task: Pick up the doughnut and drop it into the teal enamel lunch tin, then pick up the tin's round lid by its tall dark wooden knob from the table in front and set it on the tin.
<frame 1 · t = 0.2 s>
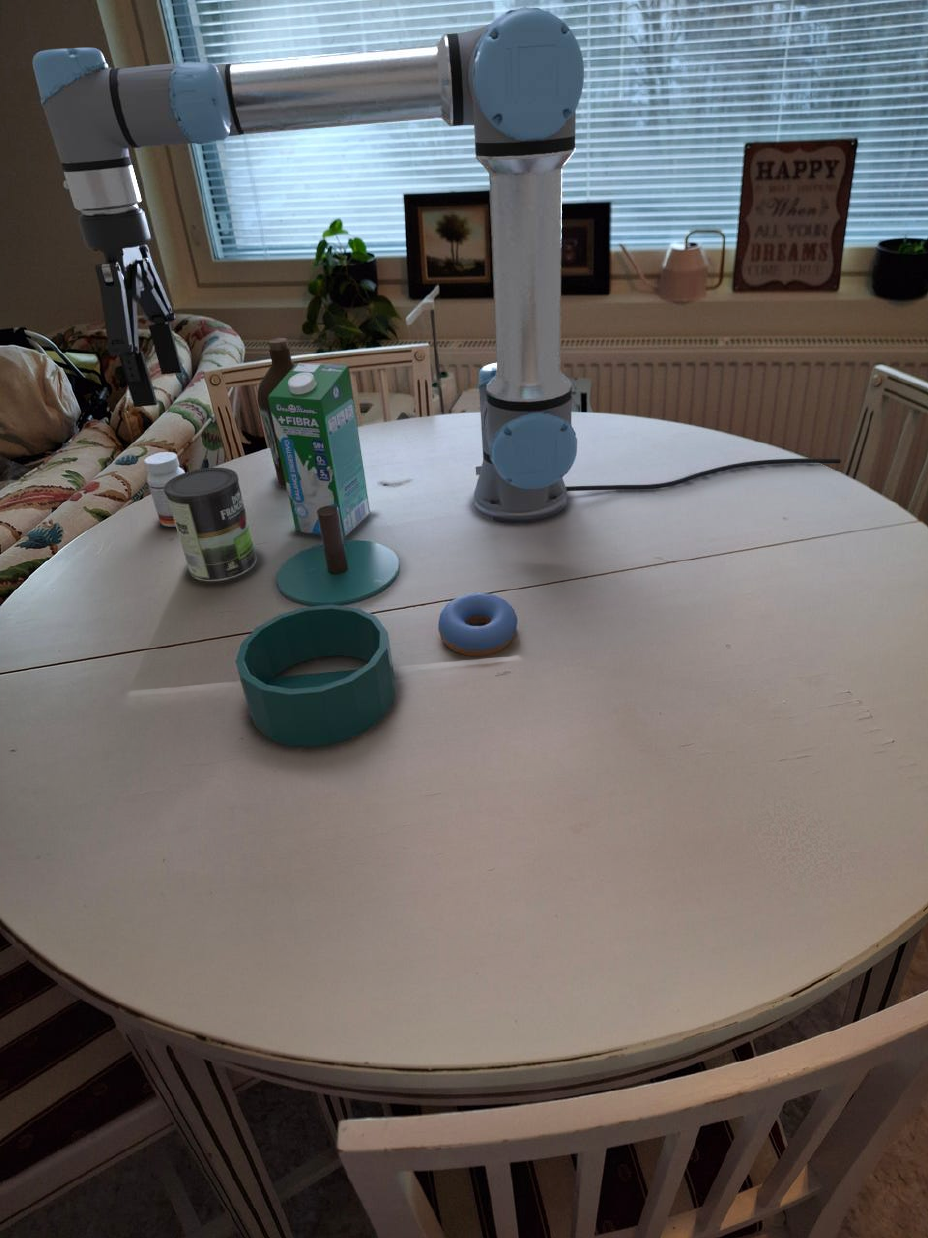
hand: (160, 388, 106), 28 cm above the table, tool pointing down, fingers open, 13 cm apart
doughnut: (478, 639, 102), on the table
pill bottle: (179, 520, 137), on the table
coffee can: (224, 567, 122), on the table
olive oil: (303, 479, 148), on the table
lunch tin: (323, 697, 94), on the table
lid: (338, 572, 117), point 1 cm above the table
milk carton: (334, 525, 131), on the table
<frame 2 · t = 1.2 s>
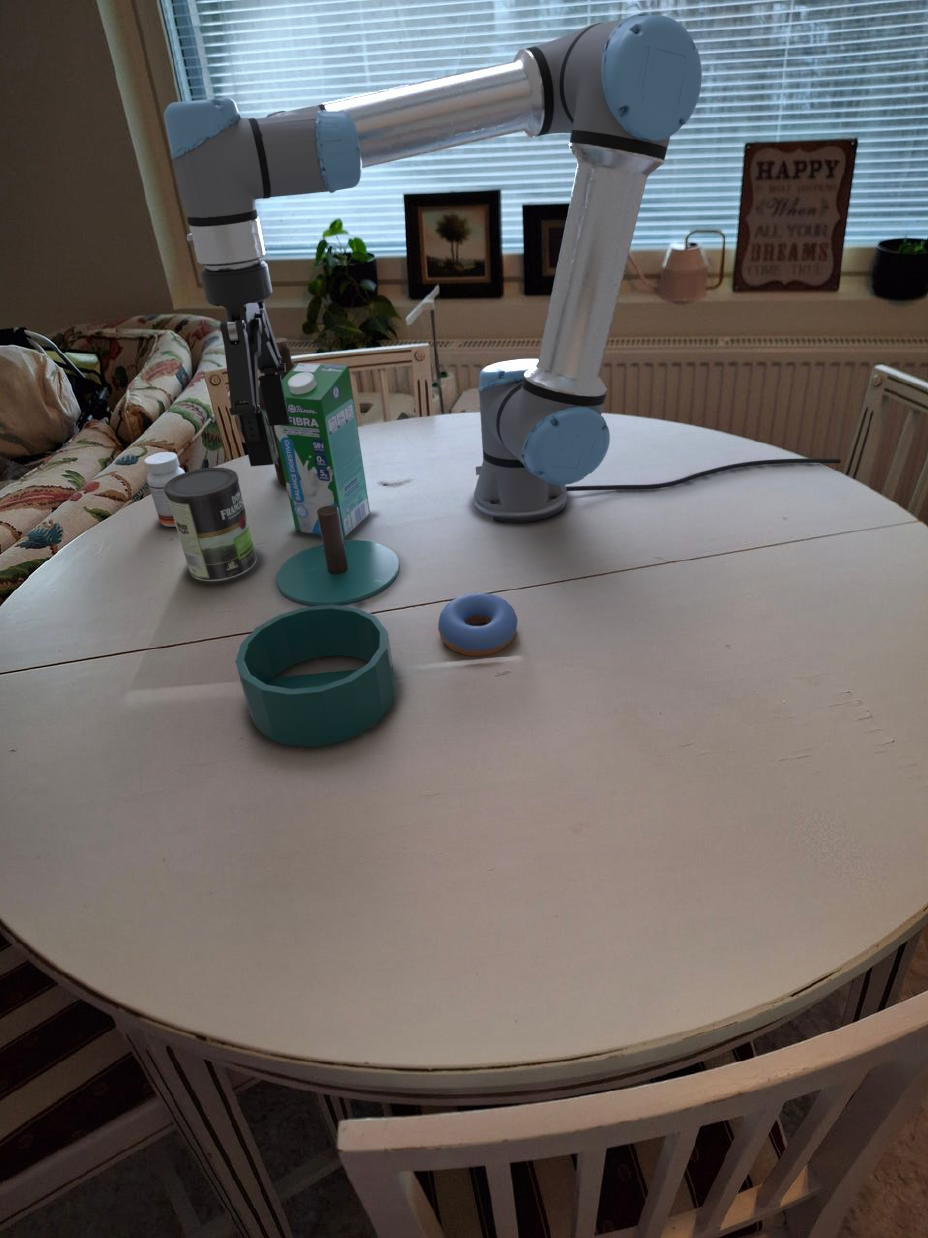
hand: (271, 443, 102), 22 cm above the table, tool pointing down, fingers open, 13 cm apart
nothing on the table moved.
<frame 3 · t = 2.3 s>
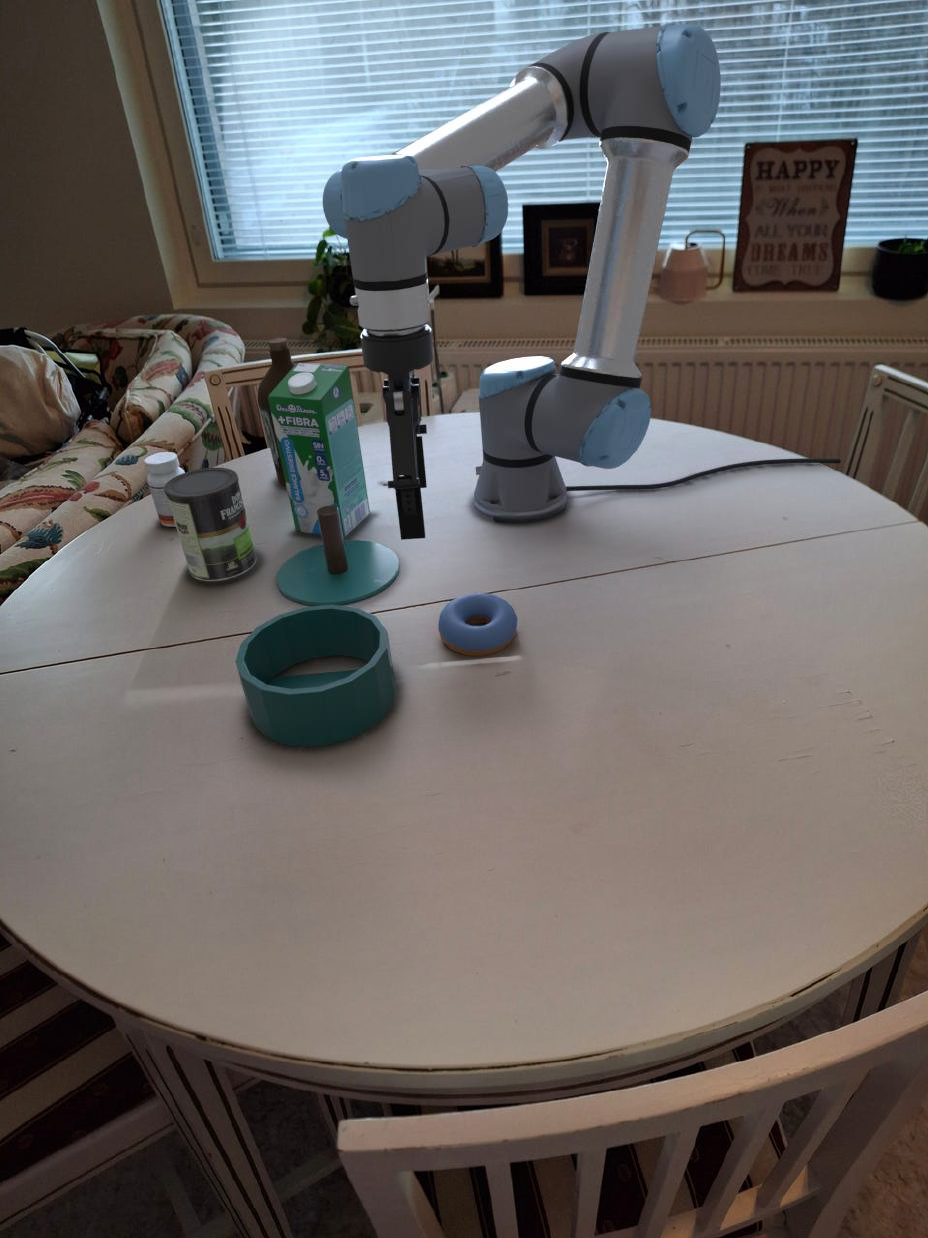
hand: (414, 511, 95), 17 cm above the table, tool pointing down, fingers open, 13 cm apart
nothing on the table moved.
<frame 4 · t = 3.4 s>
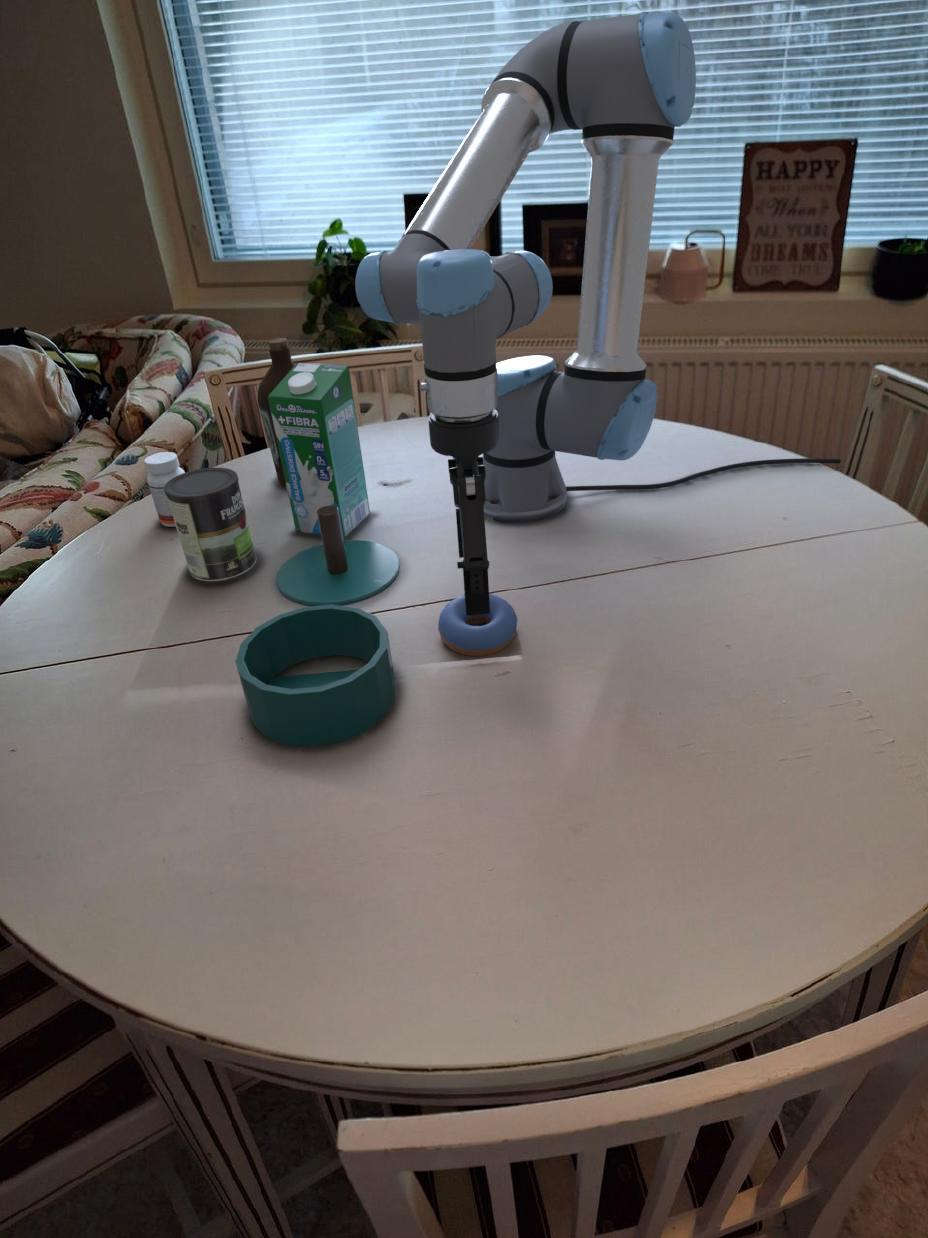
hand: (473, 582, 97), 8 cm above the table, tool pointing down, fingers open, 13 cm apart
nothing on the table moved.
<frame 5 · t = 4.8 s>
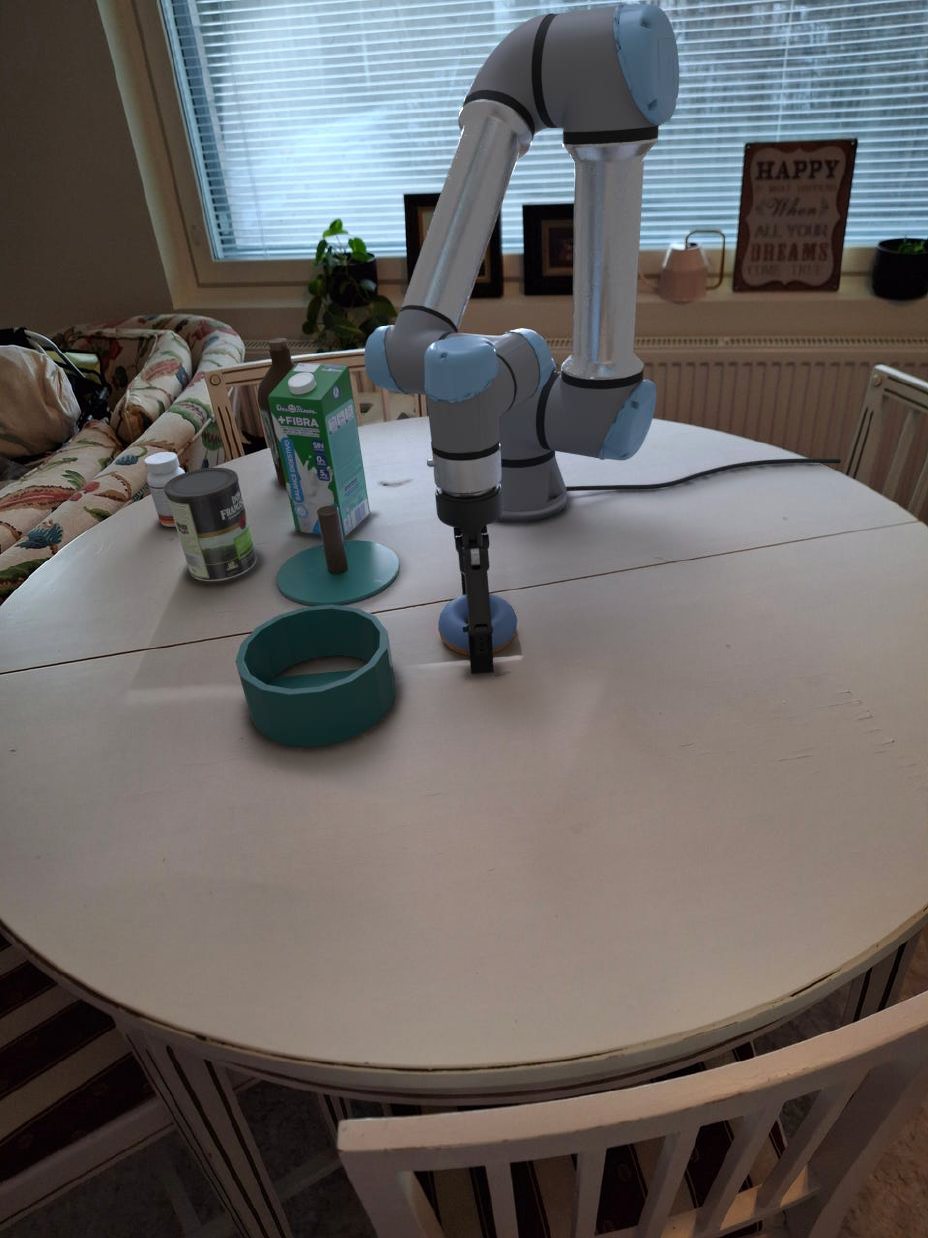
hand: (477, 639, 102), 0 cm above the table, tool pointing down, fingers open, 13 cm apart
nothing on the table moved.
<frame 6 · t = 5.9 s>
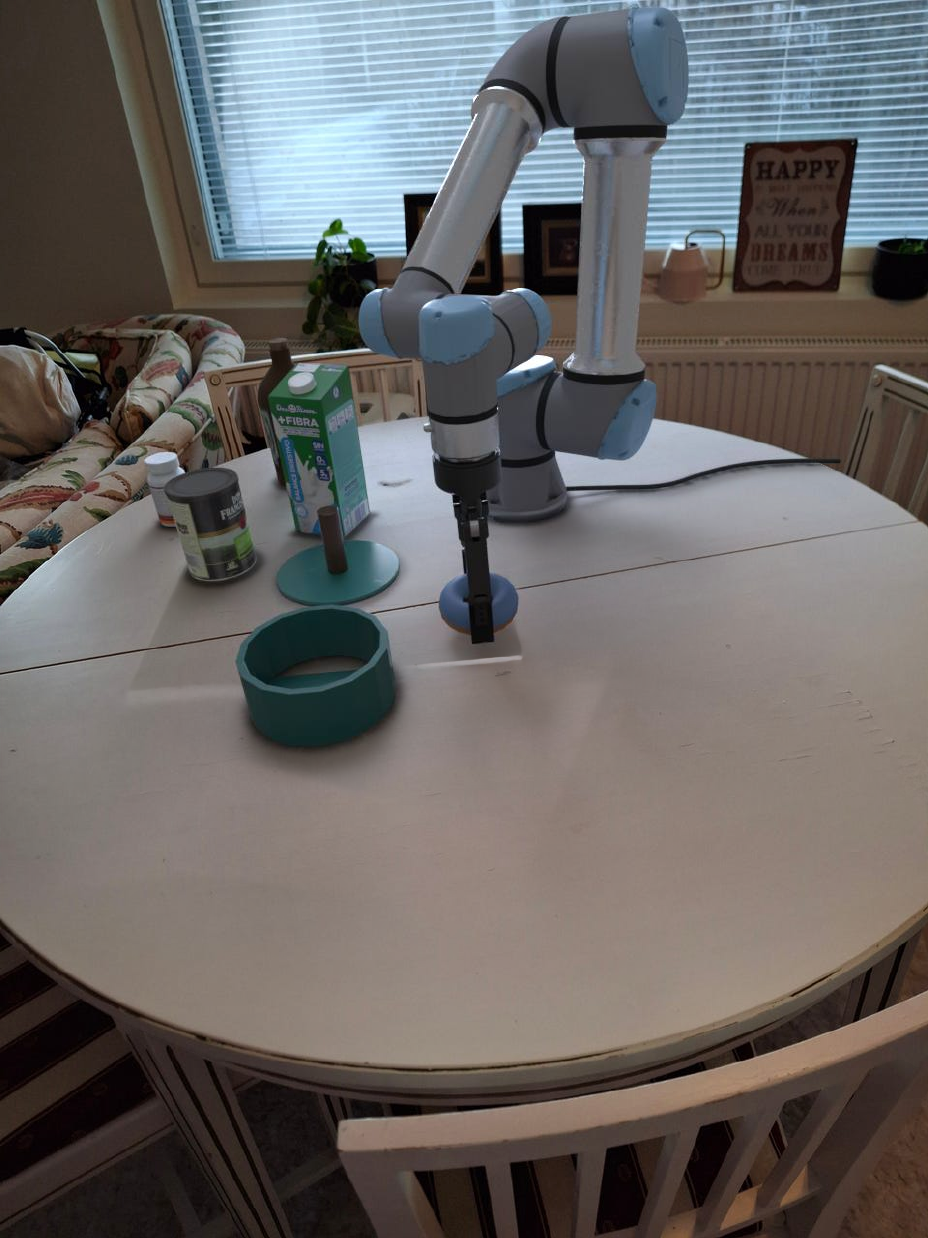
hand: (479, 616, 100), 3 cm above the table, tool pointing down, fingers closed on doughnut, 10 cm apart
doughnut: (479, 619, 101), point 3 cm above the table, touching gripper
everything else where it was.
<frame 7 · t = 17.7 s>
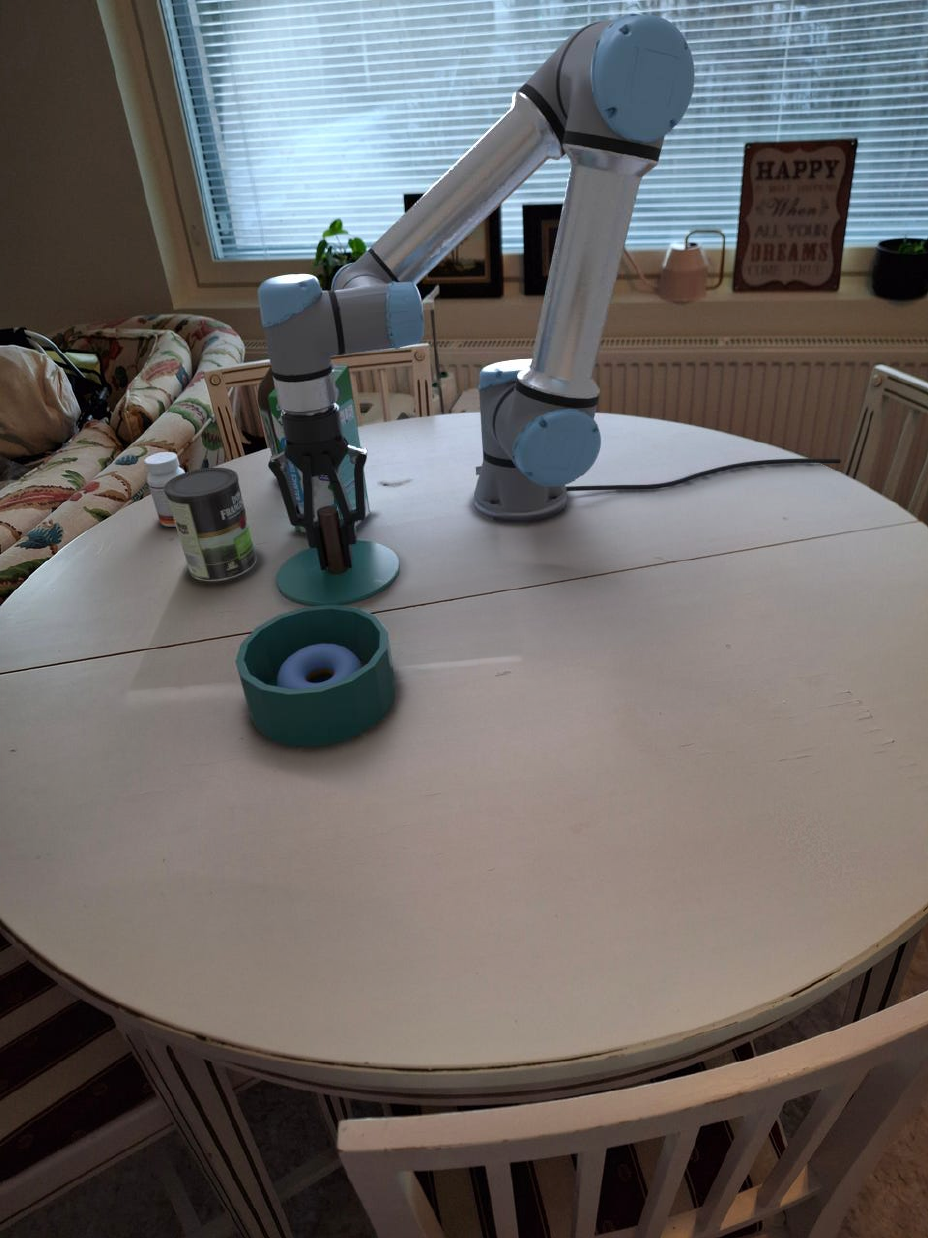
hand: (337, 563, 116), 2 cm above the table, tool pointing down, fingers closed on lid, 3 cm apart
doughnut: (324, 695, 94), resting on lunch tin
lid: (338, 572, 117), point 1 cm above the table, touching gripper
everything else where it was.
when the fingers open (9 cm above the table, at t = 24.3 s): lid stays where it is, resting on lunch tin.
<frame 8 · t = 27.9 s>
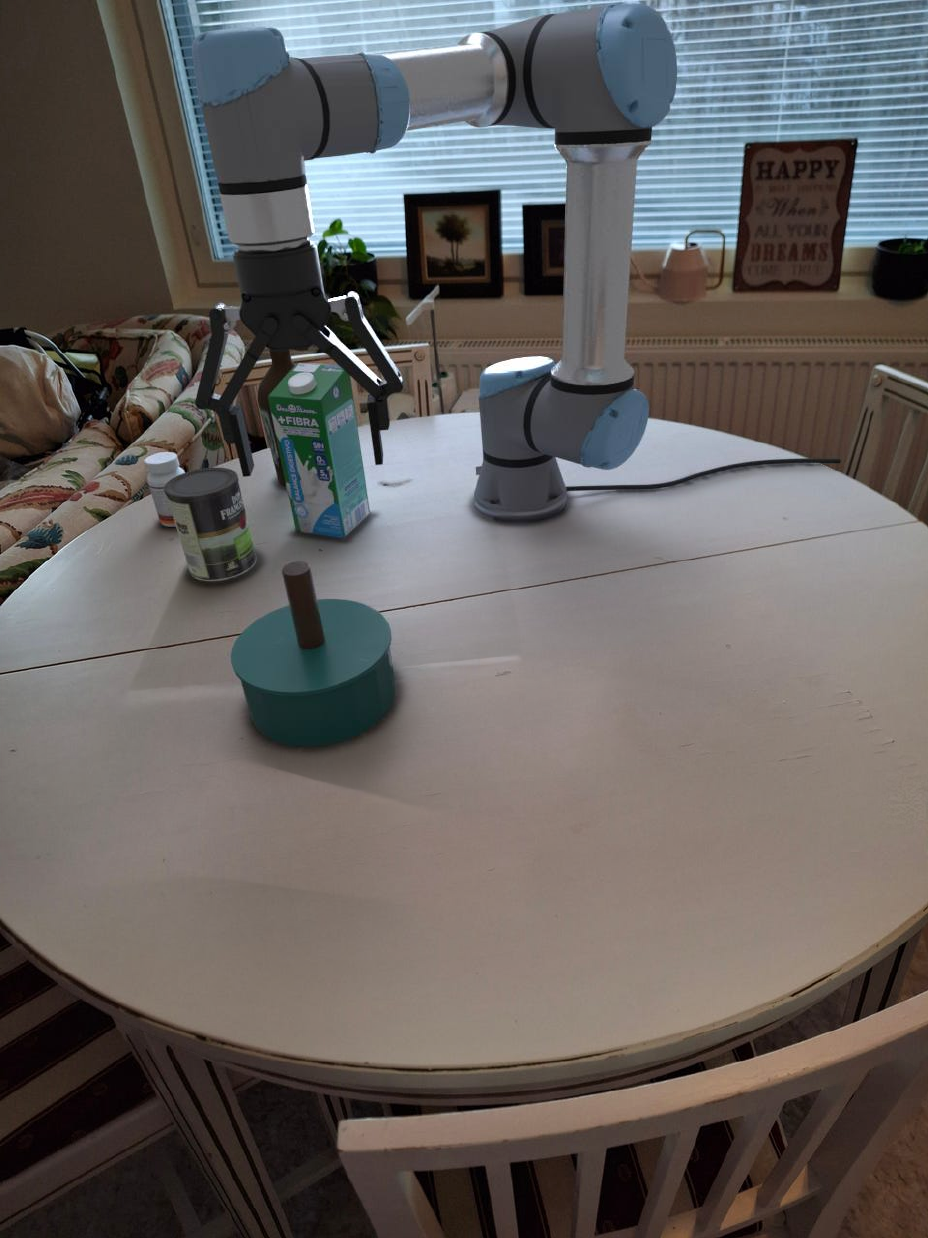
hand: (314, 465, 83), 27 cm above the table, tool pointing down, fingers open, 13 cm apart
lid: (312, 645, 90), point 7 cm above the table, touching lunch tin
everything else where it was.
at the end: doughnut inside the target area in the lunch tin (0.1 cm from its centre), point 0.3 cm above the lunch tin's base; lid 0.0 cm off-centre on the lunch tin, point 7.5 cm above the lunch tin's base; lid tilted 0° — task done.
